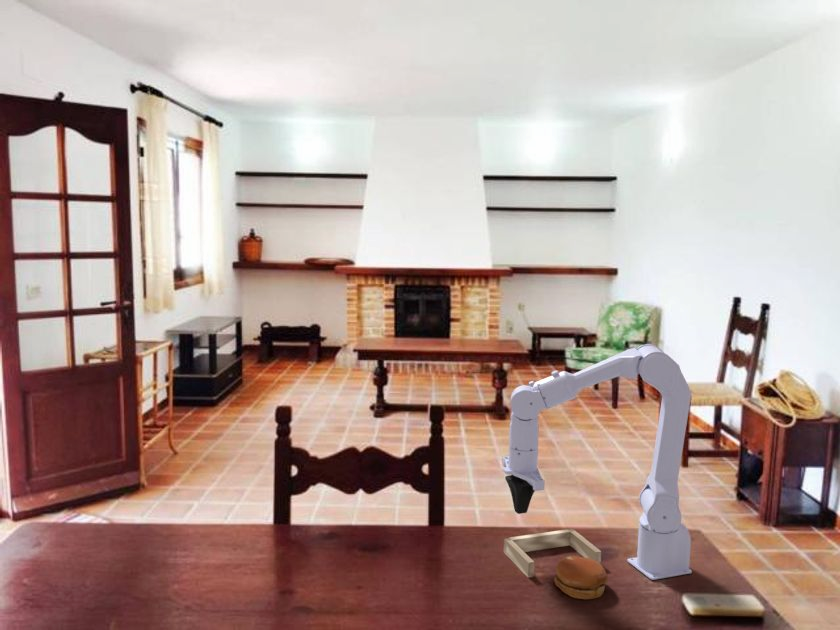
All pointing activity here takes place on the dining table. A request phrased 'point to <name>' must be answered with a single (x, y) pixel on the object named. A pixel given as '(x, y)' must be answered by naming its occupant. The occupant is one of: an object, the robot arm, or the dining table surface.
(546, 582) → the dining table surface
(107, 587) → the dining table surface
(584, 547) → the bay
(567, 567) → the burger
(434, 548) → the dining table surface
